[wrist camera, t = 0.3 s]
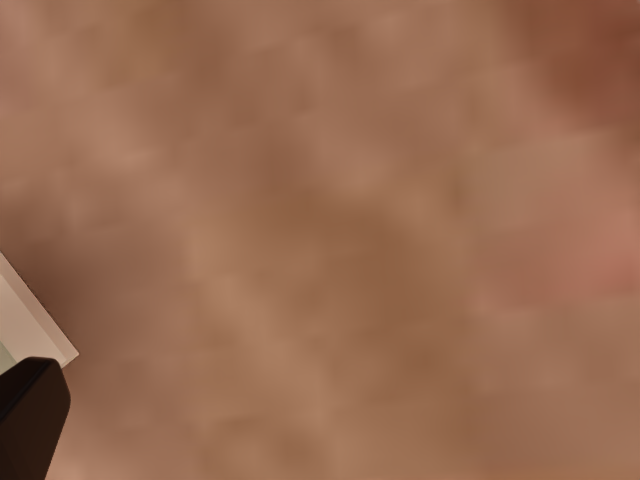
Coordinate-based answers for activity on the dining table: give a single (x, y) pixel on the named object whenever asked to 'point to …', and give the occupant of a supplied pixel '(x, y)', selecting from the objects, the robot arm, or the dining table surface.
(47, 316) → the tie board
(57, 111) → the dining table surface
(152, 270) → the dining table surface
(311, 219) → the dining table surface
